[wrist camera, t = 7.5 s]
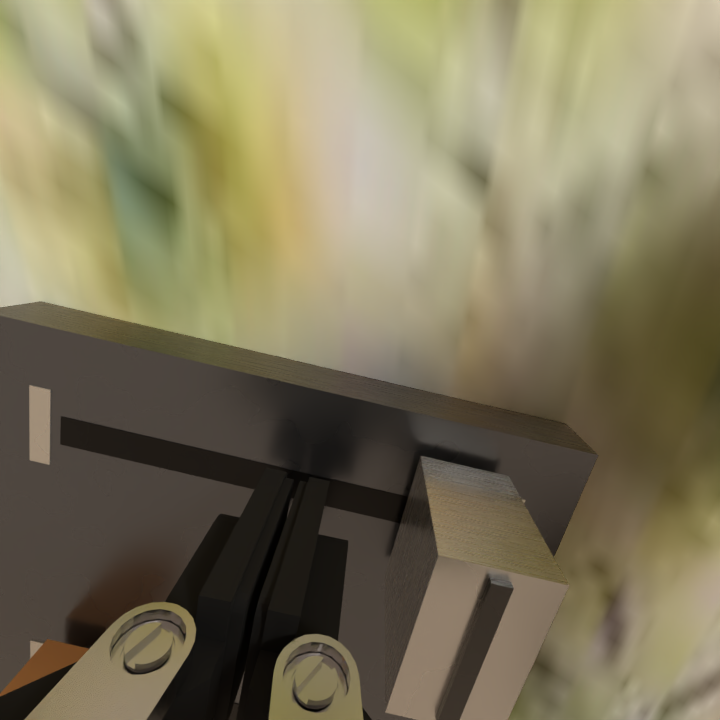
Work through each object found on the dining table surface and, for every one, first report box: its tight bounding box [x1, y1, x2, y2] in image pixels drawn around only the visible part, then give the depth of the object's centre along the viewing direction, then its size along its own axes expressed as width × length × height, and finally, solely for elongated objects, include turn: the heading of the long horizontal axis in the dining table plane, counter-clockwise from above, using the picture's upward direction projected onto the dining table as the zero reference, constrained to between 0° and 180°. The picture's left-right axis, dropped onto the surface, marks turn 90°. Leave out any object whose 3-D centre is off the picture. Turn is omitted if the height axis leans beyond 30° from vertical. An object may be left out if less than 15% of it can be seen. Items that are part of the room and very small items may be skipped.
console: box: [0, 302, 598, 720], centre depth 14 cm, size 17×17×2 cm
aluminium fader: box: [385, 456, 569, 720], centre depth 9 cm, size 2×4×4 cm, turn 167°
